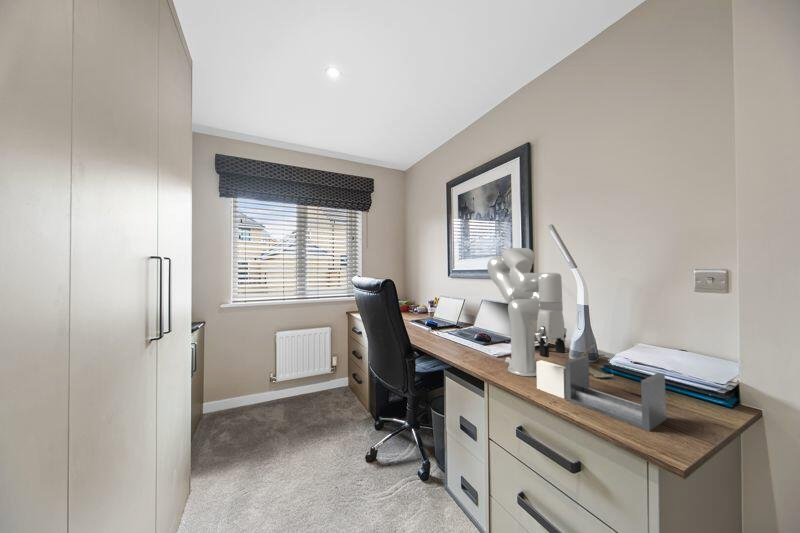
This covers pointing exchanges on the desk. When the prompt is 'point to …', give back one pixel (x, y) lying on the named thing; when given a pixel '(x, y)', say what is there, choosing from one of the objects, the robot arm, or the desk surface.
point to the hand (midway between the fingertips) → (552, 354)
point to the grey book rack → (616, 407)
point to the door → (551, 378)
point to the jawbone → (592, 371)
